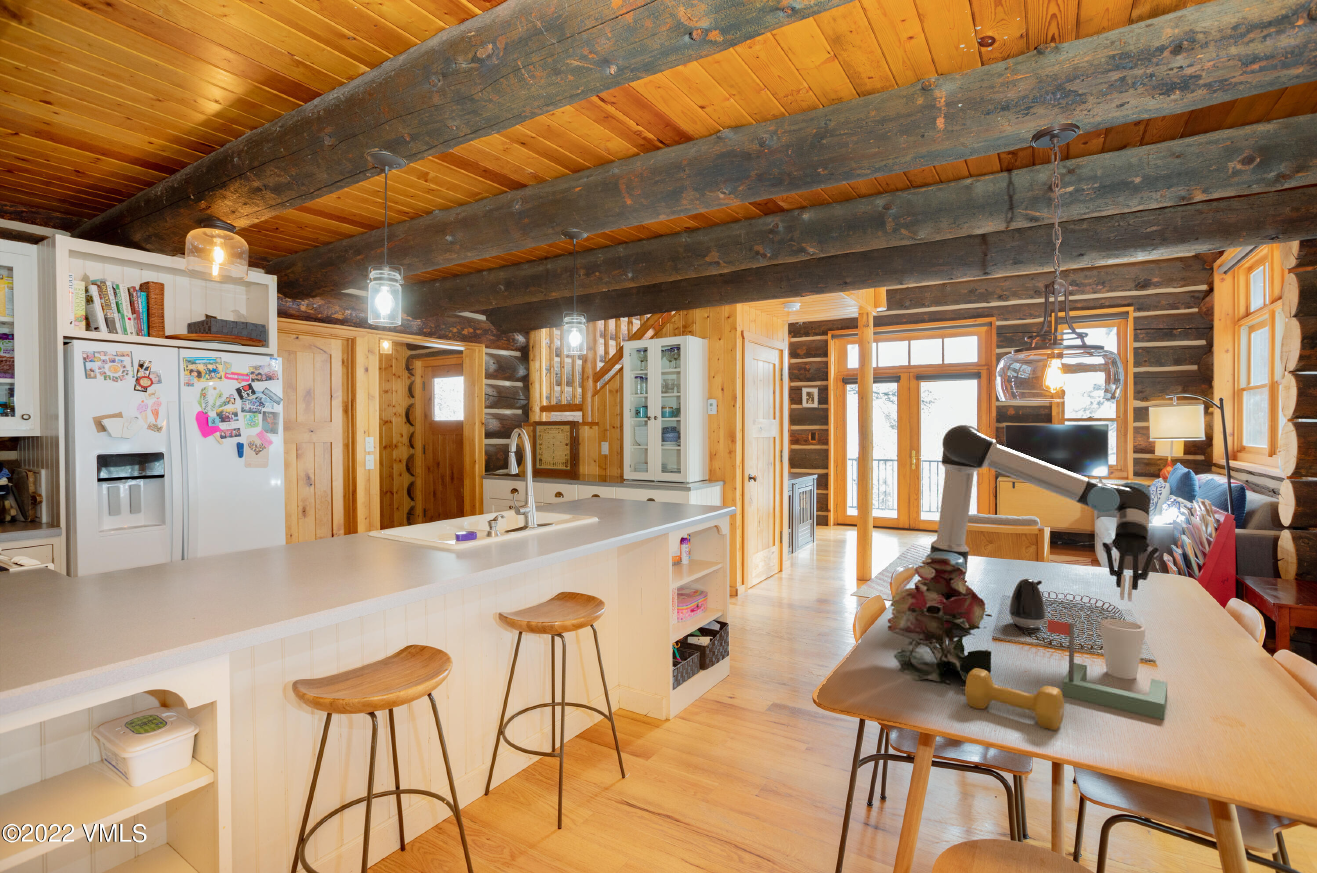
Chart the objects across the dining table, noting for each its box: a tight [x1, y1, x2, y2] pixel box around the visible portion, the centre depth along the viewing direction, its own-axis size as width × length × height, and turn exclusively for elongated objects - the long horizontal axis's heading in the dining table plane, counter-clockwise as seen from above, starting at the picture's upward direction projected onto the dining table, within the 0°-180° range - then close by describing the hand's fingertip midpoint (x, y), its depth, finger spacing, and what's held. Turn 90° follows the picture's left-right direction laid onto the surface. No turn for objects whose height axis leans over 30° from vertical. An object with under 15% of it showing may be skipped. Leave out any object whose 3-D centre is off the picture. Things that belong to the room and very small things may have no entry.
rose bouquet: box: [887, 557, 996, 690], centre depth 168 cm, size 26×29×30 cm
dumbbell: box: [964, 668, 1065, 731], centre depth 141 cm, size 19×9×8 cm, turn 46°
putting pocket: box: [1046, 619, 1168, 721], centre depth 152 cm, size 16×22×18 cm
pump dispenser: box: [1008, 578, 1047, 629], centre depth 203 cm, size 10×10×15 cm
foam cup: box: [1099, 618, 1146, 680], centre depth 164 cm, size 10×9×13 cm
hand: (1125, 597), depth 171 cm, fingers closed
